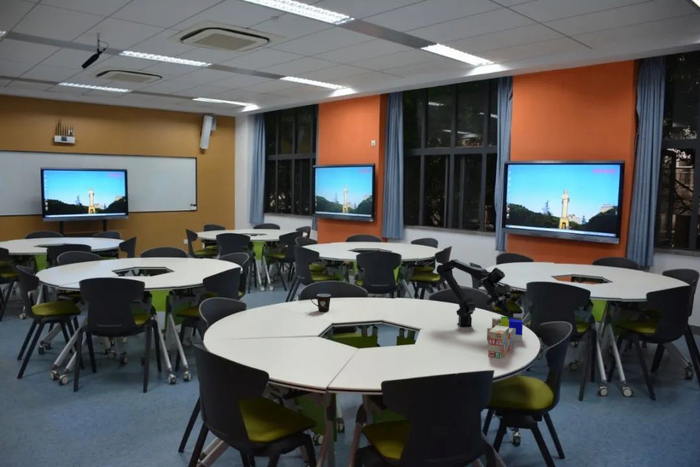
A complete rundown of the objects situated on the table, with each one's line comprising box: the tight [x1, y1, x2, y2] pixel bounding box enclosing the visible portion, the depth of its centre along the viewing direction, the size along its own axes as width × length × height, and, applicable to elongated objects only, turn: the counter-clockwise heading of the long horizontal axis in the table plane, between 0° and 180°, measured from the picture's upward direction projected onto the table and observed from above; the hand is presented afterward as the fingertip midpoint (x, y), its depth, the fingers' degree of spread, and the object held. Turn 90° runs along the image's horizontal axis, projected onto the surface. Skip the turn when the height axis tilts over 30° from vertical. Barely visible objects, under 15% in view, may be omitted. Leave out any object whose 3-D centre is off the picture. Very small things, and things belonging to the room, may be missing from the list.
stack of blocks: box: [487, 325, 514, 360], centre depth 250 cm, size 21×6×12 cm, turn 149°
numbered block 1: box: [491, 317, 501, 328], centre depth 289 cm, size 5×5×6 cm
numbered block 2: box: [486, 327, 493, 341], centre depth 268 cm, size 5×5×6 cm
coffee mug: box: [310, 293, 332, 313], centre depth 328 cm, size 12×9×10 cm
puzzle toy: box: [500, 315, 524, 342], centre depth 273 cm, size 10×10×10 cm
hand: (509, 312), depth 276 cm, fingers closed
